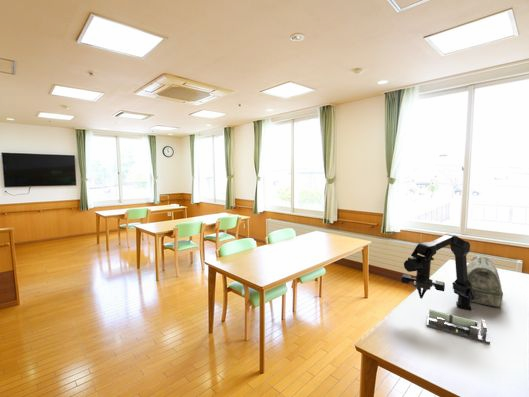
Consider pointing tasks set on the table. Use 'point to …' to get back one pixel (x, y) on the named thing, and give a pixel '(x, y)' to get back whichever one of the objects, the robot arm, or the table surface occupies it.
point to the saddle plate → (461, 329)
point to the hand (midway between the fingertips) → (421, 298)
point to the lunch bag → (485, 281)
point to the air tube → (451, 318)
